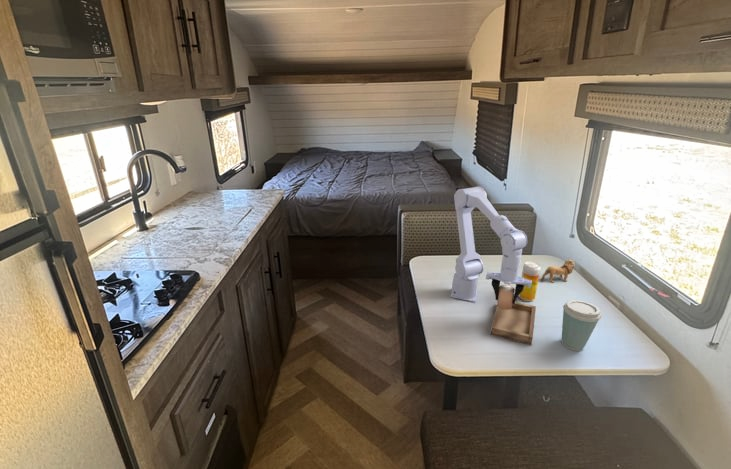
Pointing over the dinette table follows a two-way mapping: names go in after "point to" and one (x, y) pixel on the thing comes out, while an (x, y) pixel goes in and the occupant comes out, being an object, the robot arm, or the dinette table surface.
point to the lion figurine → (560, 270)
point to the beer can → (530, 273)
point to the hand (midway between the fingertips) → (505, 300)
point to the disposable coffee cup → (578, 323)
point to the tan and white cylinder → (505, 297)
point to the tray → (515, 323)
